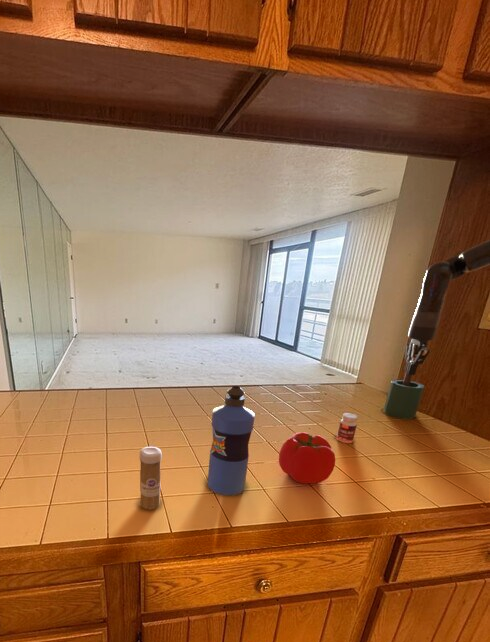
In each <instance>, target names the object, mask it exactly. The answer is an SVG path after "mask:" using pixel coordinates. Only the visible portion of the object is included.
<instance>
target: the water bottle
mask: <svg viewBox="0 0 490 642" xmlns="http://www.w3.org/2000/svg"><path fill="white" fill-rule="evenodd" d="M226 393H227V394H226V395H225V397H224V405H221V406H217V407H214V408H213V409H212V414H211V426H212V427H211V428H212V442H211V447H210V451H209V461H208V471H207V473H208V474H207V486H208V488H209V490H211V491H212V492H214V493H215V494H218V495H220V496H224V495H225V496H235V495H239V494H241V493H243V492H244V491H245V489H246V481H247V473H248V465H249V457H250V454H249V443H250V440H251V436H252V432H253V430H254V425H255V424H254V423H255V415H256V414H255V412H253V411H252V410H250V409H249V408H246V407H245V406H244V405H245V401H246V398H245V396H244V395H245V393H246V392H245V391H244V390H243V388H241V387H240V386H238V385H233V386H231V387H230V388H228V390H227V391H226Z"/></svg>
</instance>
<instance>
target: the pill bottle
mask: <svg viewBox="0 0 490 642" xmlns="http://www.w3.org/2000/svg"><path fill="white" fill-rule="evenodd" d="M358 418H359V417H358V415H357V414H353V413H348V412H345V413H343V414H342V419H340V421H339V425H338V429H337V434H336V440H337V441H339V442H341V443H345V444H351V443H353V442H354V439H355V434H356V431H357V427H358V422H357V421H358Z"/></svg>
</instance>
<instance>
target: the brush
mask: <svg viewBox="0 0 490 642" xmlns="http://www.w3.org/2000/svg"><path fill="white" fill-rule="evenodd" d="M411 360H412V359H410V361H409V364H408V367H407V371H406V372H405V374H404V378H403V380H404V381H403V384H402V385H404V386H409V385H410V382H411V381H412V379H413V376H414V375H409V374H408V370H409V367H410V364H411Z"/></svg>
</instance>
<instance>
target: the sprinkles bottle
mask: <svg viewBox="0 0 490 642" xmlns="http://www.w3.org/2000/svg"><path fill="white" fill-rule="evenodd" d="M139 461H140V470H139V471H140V472H139V489H140V490H139V491H140V501H139V505H140V507H142V509H145V510H150V511H151V510H156V509H157V508H159V507H160V505H161V475H162V473H161V471H162V470H161V462H162V449H160V448H159V447H156V446H145V447H142V448H141V449H140V450H139Z"/></svg>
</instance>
